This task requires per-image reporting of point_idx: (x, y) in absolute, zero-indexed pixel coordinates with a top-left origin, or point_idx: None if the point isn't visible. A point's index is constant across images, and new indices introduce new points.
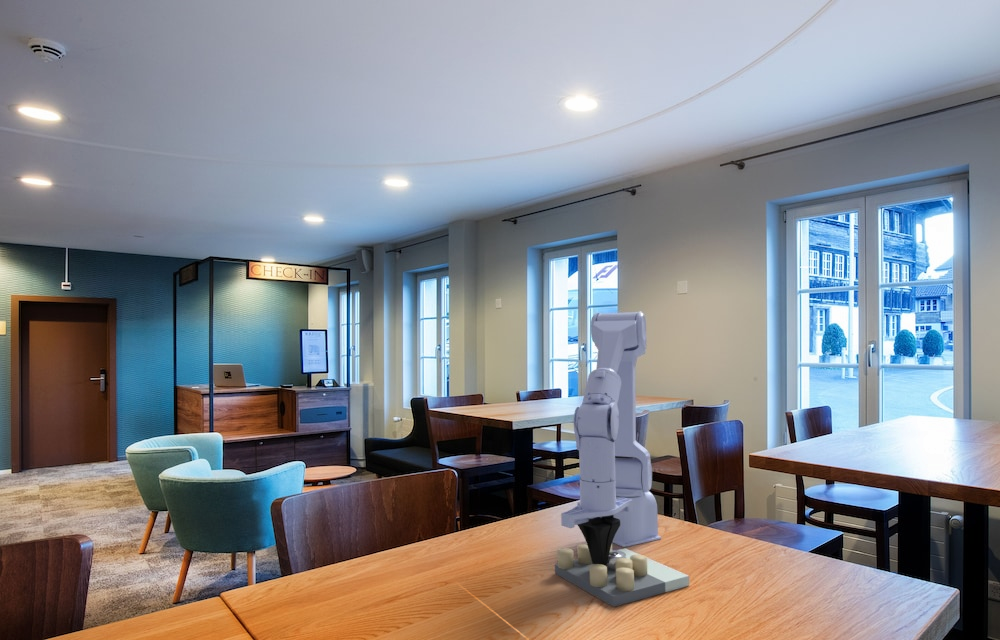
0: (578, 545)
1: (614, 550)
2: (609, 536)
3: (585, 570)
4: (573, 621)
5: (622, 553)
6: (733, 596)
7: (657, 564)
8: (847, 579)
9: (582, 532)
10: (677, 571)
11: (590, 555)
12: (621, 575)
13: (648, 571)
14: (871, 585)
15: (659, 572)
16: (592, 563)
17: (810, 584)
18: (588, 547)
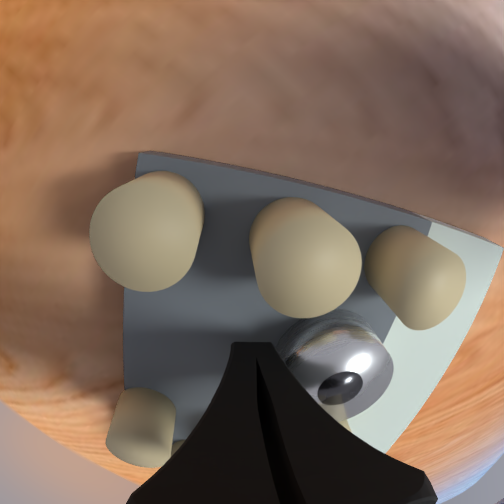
0: (297, 224)
1: (385, 361)
2: None
3: (198, 313)
4: (29, 400)
5: (368, 398)
6: None
7: (416, 401)
8: (476, 465)
9: (174, 457)
10: (390, 444)
11: (228, 361)
12: None
13: (351, 425)
14: (464, 477)
15: (361, 437)
16: (231, 344)
17: (451, 469)
18: (218, 389)
